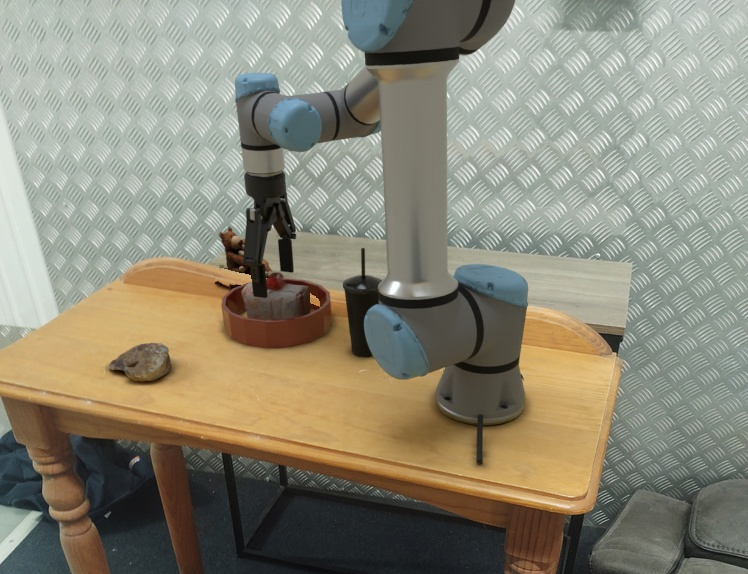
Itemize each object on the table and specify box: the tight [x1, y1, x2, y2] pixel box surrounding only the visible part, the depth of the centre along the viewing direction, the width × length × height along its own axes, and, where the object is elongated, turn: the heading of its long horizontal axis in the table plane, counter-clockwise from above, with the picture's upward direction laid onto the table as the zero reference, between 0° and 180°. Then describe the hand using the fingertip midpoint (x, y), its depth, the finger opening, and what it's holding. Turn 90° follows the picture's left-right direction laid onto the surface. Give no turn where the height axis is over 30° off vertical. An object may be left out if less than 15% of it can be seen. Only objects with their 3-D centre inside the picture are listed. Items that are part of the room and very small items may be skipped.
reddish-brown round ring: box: [220, 277, 333, 349], centre depth 147 cm, size 22×22×6 cm
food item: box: [242, 274, 312, 320], centre depth 146 cm, size 14×8×10 cm, turn 75°
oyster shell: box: [108, 342, 172, 382], centre depth 132 cm, size 10×12×5 cm
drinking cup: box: [342, 247, 383, 358], centre depth 133 cm, size 8×8×20 cm
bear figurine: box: [217, 226, 285, 278], centre depth 164 cm, size 14×15×12 cm
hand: (274, 283), depth 144 cm, fingers open, 13 cm apart
